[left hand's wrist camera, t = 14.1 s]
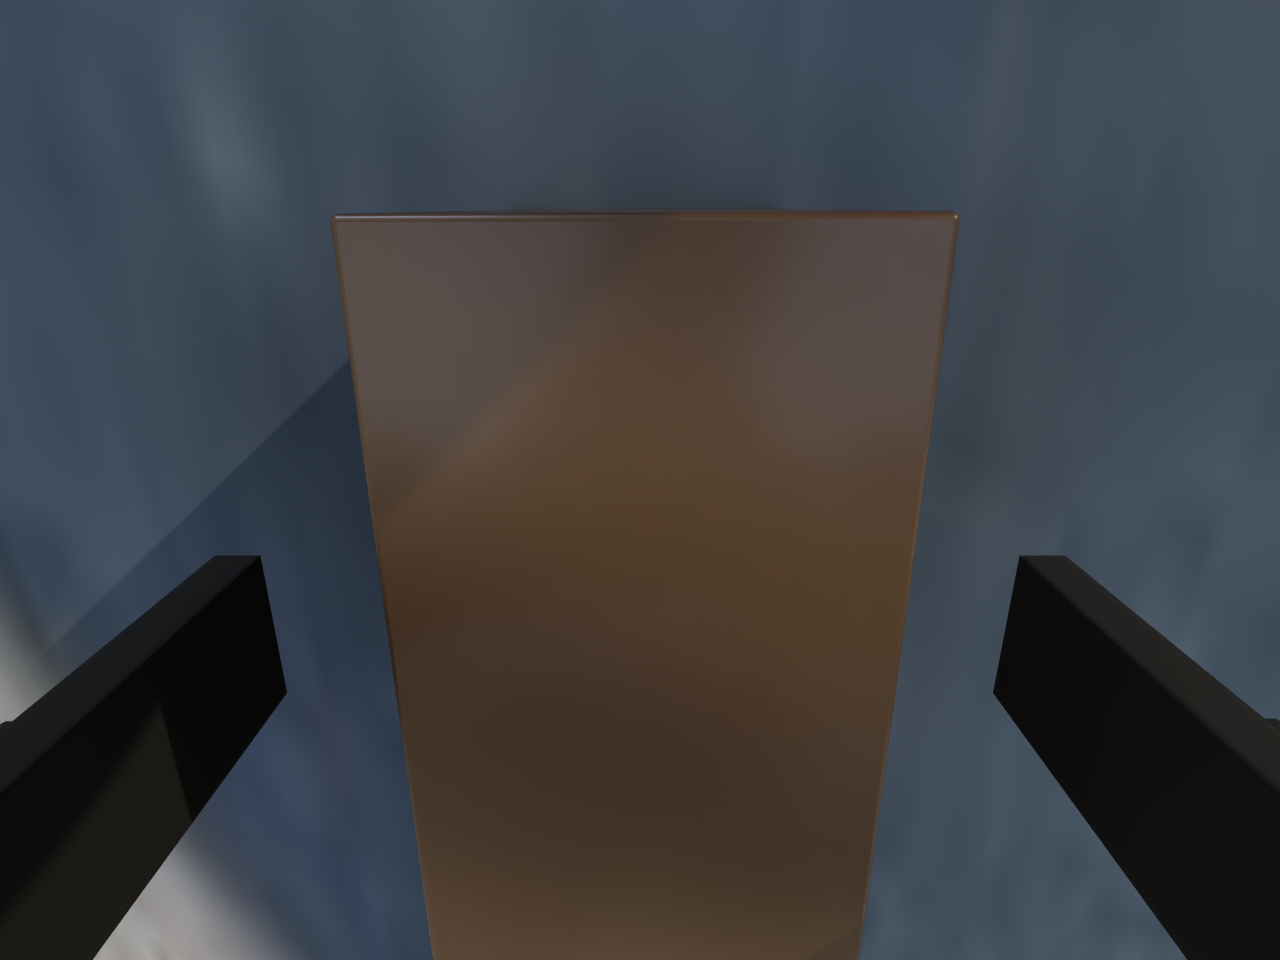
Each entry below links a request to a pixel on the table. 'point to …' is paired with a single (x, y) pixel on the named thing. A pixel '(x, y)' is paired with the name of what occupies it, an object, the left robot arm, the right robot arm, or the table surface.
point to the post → (645, 561)
